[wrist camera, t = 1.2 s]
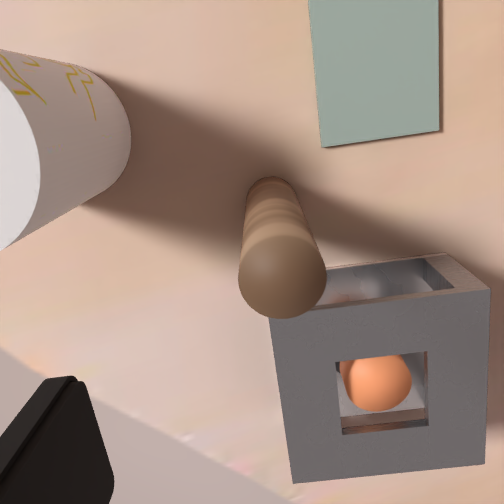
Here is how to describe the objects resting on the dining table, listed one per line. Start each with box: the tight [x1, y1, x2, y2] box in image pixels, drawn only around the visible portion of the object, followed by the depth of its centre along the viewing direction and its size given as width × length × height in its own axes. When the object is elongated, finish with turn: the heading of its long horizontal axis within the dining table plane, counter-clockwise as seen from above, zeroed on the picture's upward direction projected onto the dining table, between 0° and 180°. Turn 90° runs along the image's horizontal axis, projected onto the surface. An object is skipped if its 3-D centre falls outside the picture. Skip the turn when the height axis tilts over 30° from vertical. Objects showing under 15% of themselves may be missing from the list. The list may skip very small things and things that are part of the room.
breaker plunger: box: [340, 354, 412, 412], centre depth 28 cm, size 4×4×2 cm
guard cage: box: [269, 252, 491, 484], centre depth 29 cm, size 12×12×6 cm
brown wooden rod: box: [238, 177, 327, 319], centre depth 22 cm, size 3×3×13 cm
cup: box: [0, 49, 131, 251], centre depth 21 cm, size 8×8×12 cm
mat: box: [308, 0, 439, 147], centre depth 25 cm, size 8×7×1 cm
